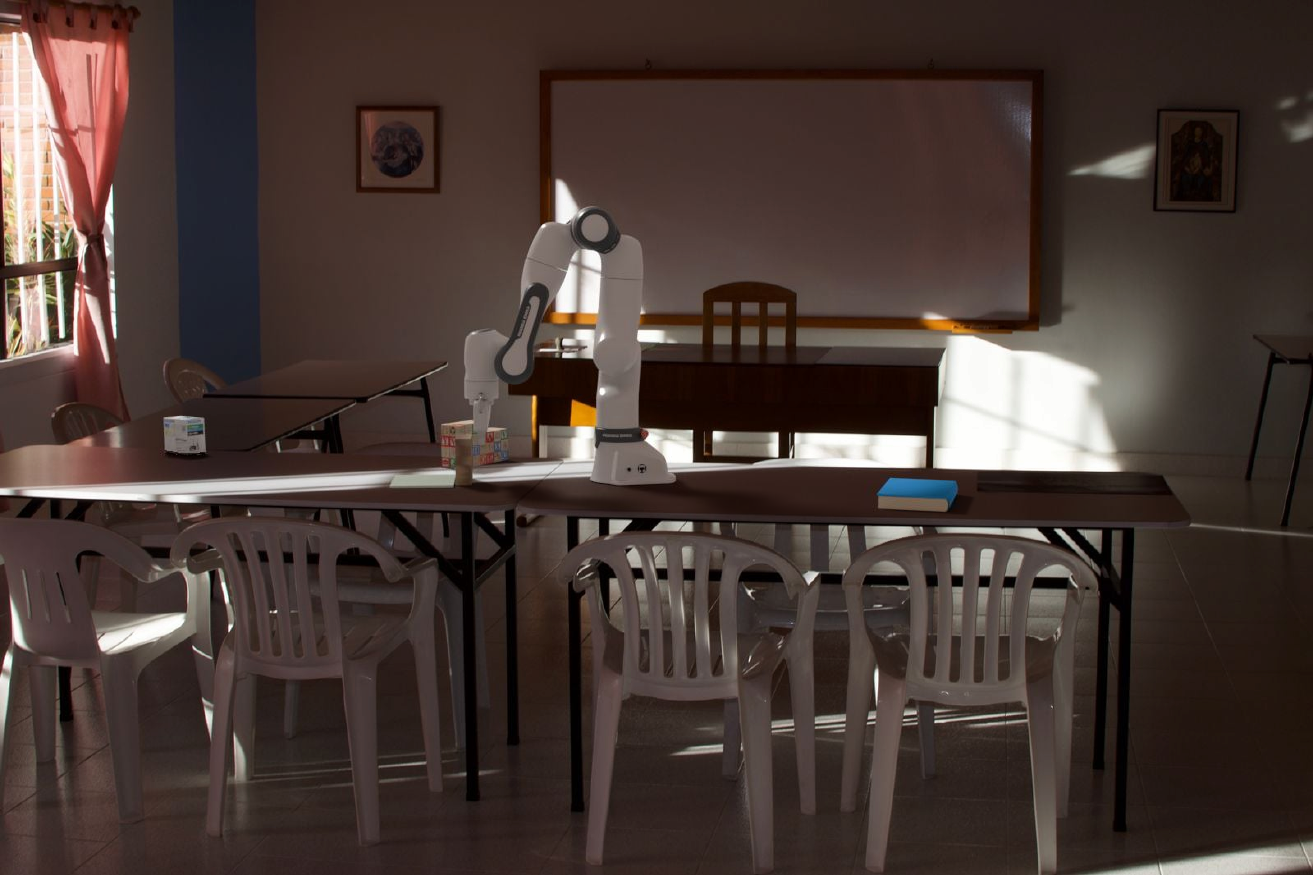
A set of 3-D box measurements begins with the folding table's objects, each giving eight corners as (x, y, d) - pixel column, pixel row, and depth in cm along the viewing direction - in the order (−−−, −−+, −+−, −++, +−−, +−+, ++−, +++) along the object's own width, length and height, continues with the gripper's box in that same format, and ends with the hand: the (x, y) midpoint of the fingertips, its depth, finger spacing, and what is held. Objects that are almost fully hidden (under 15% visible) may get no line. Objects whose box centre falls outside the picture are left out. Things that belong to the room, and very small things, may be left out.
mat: (456, 476, 390) (456, 474, 390) (453, 487, 373) (453, 485, 373) (395, 477, 389) (395, 475, 389) (389, 488, 371) (389, 486, 371)
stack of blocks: (492, 458, 425) (492, 416, 423) (508, 460, 421) (508, 418, 420) (441, 467, 407) (440, 423, 406) (457, 469, 404) (457, 425, 402)
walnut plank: (472, 479, 387) (472, 434, 385) (471, 485, 377) (470, 438, 375) (457, 479, 386) (456, 434, 385) (455, 485, 377) (455, 439, 375)
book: (876, 494, 345) (888, 476, 369) (876, 512, 345) (888, 493, 369) (950, 497, 340) (958, 479, 364) (950, 515, 341) (957, 496, 365)
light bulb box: (206, 453, 432) (205, 417, 431) (188, 456, 427) (187, 419, 425) (182, 450, 438) (180, 415, 437) (163, 453, 432) (162, 417, 431)
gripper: (493, 395, 369) (493, 449, 371) (494, 387, 389) (494, 439, 391) (467, 395, 369) (468, 449, 370) (470, 387, 389) (470, 439, 390)
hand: (481, 444), depth 381 cm, fingers closed
